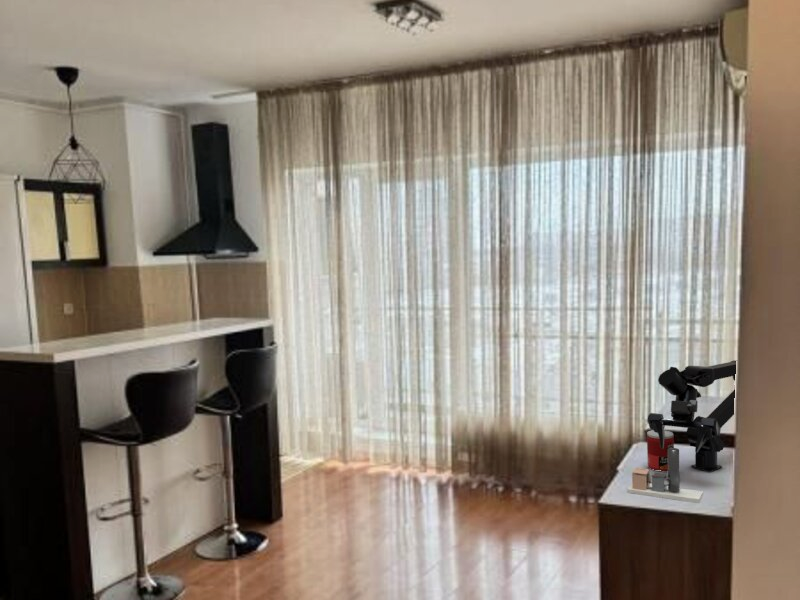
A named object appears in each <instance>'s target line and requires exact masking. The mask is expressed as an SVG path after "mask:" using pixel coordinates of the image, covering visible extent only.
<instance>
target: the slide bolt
mask: <svg viewBox="0 0 800 600" xmlns="http://www.w3.org/2000/svg"><path fill="white" fill-rule="evenodd" d="M667 450H668V471H667V478H664V485H666V486H667V487H668V490H669V491H672V492H678V491H680V487H681V486H680V485H681V482H680V481H681V480H680V478H681V477H680V474H681V473H680V449H679V448H677V447H674V448H668V449H667ZM646 477H647V483H650V484H652V475H650V476H646Z"/></svg>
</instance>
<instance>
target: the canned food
mask: <svg viewBox="0 0 800 600" xmlns="http://www.w3.org/2000/svg"><path fill="white" fill-rule="evenodd" d="M664 431H665V437H664V447H663V449H661V444H660V439H659V435H658V433H656V432H654V430H652V429H650V430H648V431H647V432H646V445H647V446H646V448H647V466H648V468H649V469H650V468H651V469H650V470H652V469H654V470H653V471H655V470H661V471H660V472H662V471H666V472H668V450H667V449H668V448H675V439H674V436H675V435H674V433H673V432H672V431H669V430H665V429H664Z"/></svg>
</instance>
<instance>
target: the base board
mask: <svg viewBox="0 0 800 600" xmlns="http://www.w3.org/2000/svg"><path fill="white" fill-rule="evenodd" d="M626 492H627V493H629V494H636V495H642V496H648V497H656V498H662V497H663V499H670V500H675V501H676V500H677V501H683V502H690V503H697V504H699V503H700V502H701V500H702V498H703V496H704V491H702V490H701V491H700V490H695V489H694V490H693V489H687V488H680V491H678V492H672V491H669V490H668V486H667V489H666V490H665V492H658V491H652V484H651V483H650V486H649V487H648V489H647V490H640V489H633V487H632V483H631V484H630V485H629V486H628V487H627V489H626Z"/></svg>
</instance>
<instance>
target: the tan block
mask: <svg viewBox="0 0 800 600" xmlns="http://www.w3.org/2000/svg"><path fill="white" fill-rule="evenodd" d="M650 470H651V469H650V468H649V469H647V468H641V467H640V468H639V467H635V468H634V469H633V471H632V472H631V475H632V477H631V478H632V479H631V480H632V482H631V484H632V487H633V489H640V490H647V489H648V487H649V486H650V484H651V483H647V477H646V476H651V471H650Z"/></svg>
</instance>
